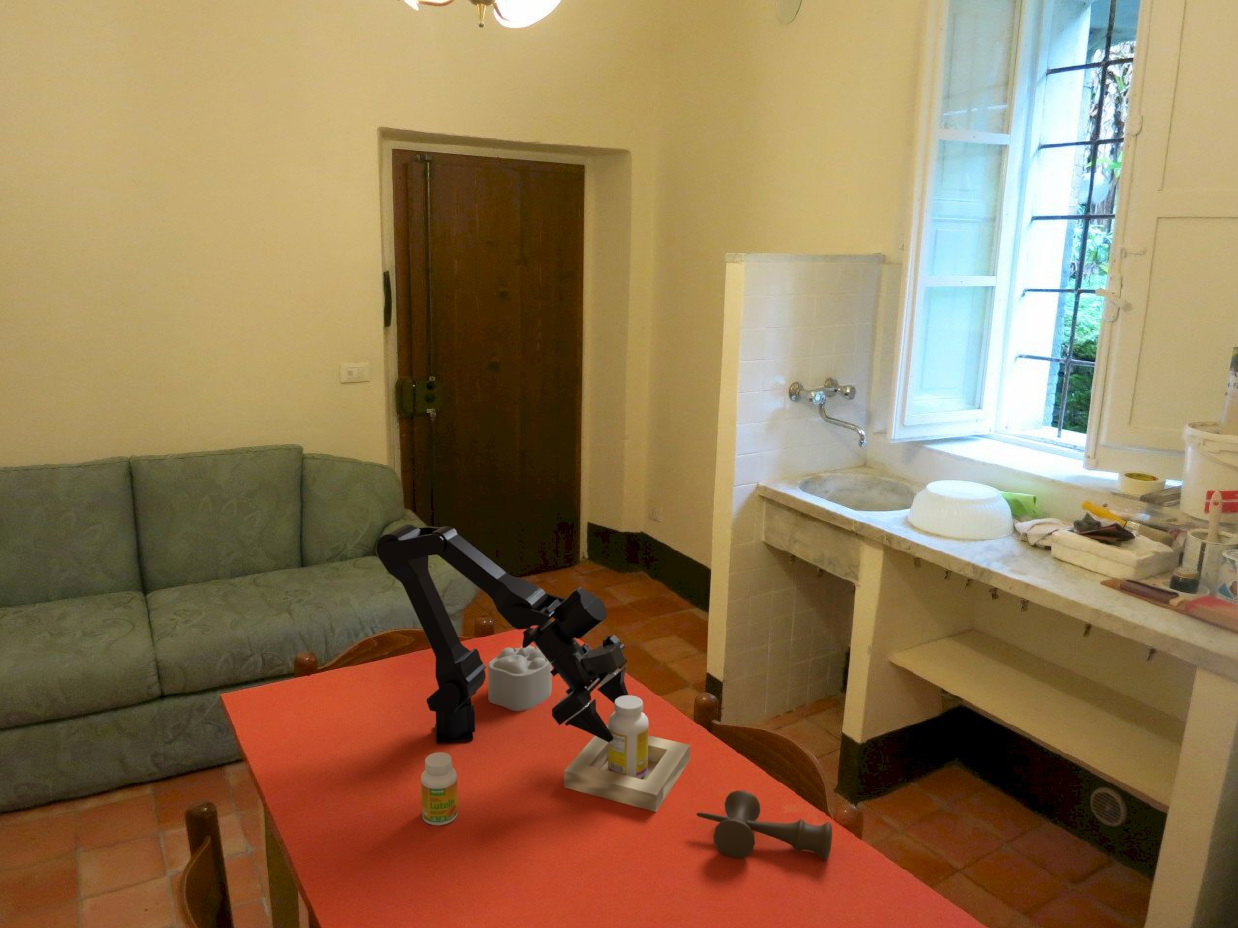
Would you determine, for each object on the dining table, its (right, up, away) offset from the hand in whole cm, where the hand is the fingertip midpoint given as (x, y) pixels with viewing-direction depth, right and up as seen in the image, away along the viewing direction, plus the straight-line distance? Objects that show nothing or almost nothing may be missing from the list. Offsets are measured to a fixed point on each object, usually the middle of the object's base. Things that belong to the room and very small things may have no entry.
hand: (622, 727), depth 153 cm
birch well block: (+1, -8, +2) cm, 8 cm away
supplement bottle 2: (+1, -8, +2) cm, 8 cm away
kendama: (+21, -13, -15) cm, 29 cm away
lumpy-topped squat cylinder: (-19, -2, +28) cm, 34 cm away
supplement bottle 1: (-28, -11, -10) cm, 32 cm away
